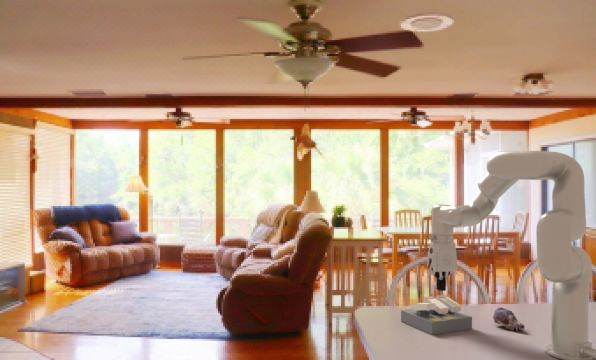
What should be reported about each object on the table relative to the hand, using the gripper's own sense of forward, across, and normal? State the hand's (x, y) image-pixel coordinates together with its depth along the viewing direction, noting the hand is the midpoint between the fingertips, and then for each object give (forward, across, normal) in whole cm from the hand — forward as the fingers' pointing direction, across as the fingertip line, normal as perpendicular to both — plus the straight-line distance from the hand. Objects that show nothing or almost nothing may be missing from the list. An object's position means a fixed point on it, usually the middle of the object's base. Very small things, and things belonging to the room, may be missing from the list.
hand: (441, 289), depth 187 cm
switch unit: (+11, -5, -4) cm, 13 cm away
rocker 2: (+4, -5, -4) cm, 8 cm away
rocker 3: (+4, 0, -4) cm, 6 cm away
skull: (+11, +16, -17) cm, 25 cm away
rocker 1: (+4, -11, -4) cm, 12 cm away
